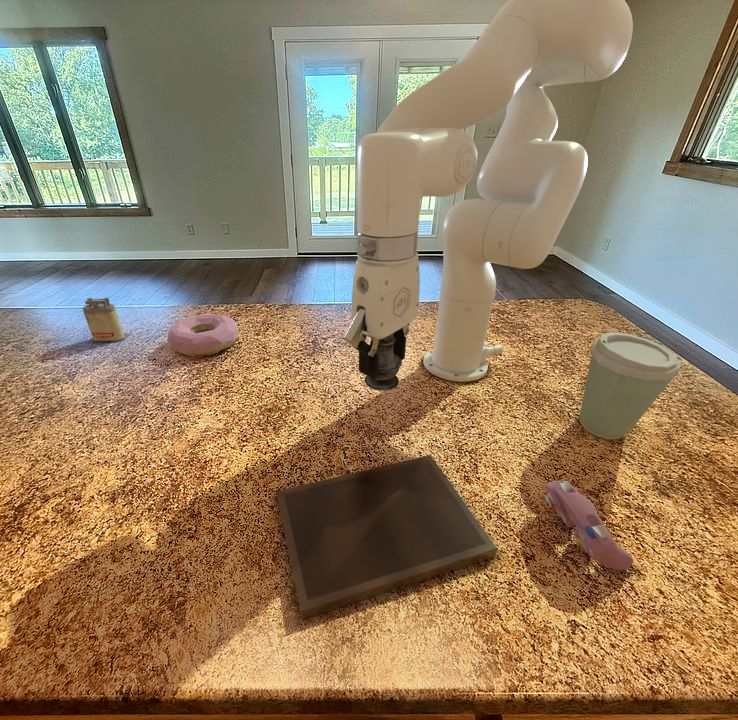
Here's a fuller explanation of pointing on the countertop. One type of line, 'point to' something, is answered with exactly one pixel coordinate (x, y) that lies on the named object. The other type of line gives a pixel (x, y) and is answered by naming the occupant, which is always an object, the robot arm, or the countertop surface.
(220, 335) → the donut
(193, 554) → the countertop surface
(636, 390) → the disposable coffee cup
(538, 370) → the countertop surface
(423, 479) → the board
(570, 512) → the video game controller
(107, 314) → the lighter
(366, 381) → the stone chess piece
